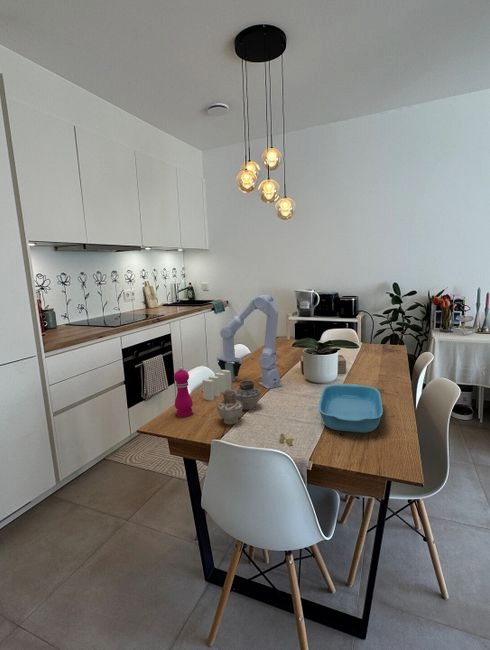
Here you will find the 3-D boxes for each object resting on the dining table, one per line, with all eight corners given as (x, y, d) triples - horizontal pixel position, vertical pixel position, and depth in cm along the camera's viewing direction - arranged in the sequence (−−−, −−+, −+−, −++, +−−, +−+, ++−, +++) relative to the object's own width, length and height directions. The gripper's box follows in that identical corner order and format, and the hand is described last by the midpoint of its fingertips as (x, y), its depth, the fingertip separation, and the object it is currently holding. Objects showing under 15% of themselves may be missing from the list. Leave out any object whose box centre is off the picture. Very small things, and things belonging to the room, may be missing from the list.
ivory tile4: (212, 394, 163) (211, 375, 162) (220, 395, 161) (219, 376, 159) (210, 395, 162) (208, 376, 160) (218, 397, 159) (217, 378, 158)
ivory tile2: (223, 387, 171) (222, 369, 170) (231, 388, 169) (230, 370, 167) (221, 388, 170) (220, 370, 168) (229, 390, 168) (228, 371, 166)
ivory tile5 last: (206, 397, 159) (204, 378, 158) (214, 399, 157) (213, 380, 155) (203, 399, 158) (202, 380, 156) (212, 400, 155) (210, 381, 154)
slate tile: (227, 379, 183) (226, 362, 182) (235, 380, 181) (234, 363, 179) (226, 380, 182) (225, 363, 180) (233, 381, 179) (232, 364, 178)
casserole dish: (324, 396, 155) (324, 380, 154) (378, 399, 149) (378, 383, 147) (315, 436, 121) (315, 416, 120) (385, 443, 114) (385, 422, 113)
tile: (218, 390, 167) (217, 372, 166) (226, 392, 165) (225, 373, 163) (216, 392, 166) (214, 373, 164) (224, 393, 163) (223, 374, 162)
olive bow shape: (291, 448, 115) (291, 442, 114) (276, 445, 117) (276, 440, 116) (295, 440, 119) (295, 435, 119) (281, 438, 121) (281, 433, 121)
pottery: (211, 424, 133) (209, 394, 131) (241, 400, 155) (240, 374, 153) (238, 429, 128) (236, 398, 126) (265, 403, 150) (264, 376, 148)
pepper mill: (197, 413, 143) (193, 366, 140) (182, 419, 138) (178, 370, 135) (186, 408, 148) (182, 363, 145) (171, 414, 143) (167, 367, 139)
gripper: (245, 349, 178) (246, 374, 180) (221, 346, 185) (222, 371, 188) (238, 352, 172) (239, 379, 174) (213, 350, 179) (215, 375, 182)
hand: (230, 375), depth 181 cm, fingers open, 7 cm apart
